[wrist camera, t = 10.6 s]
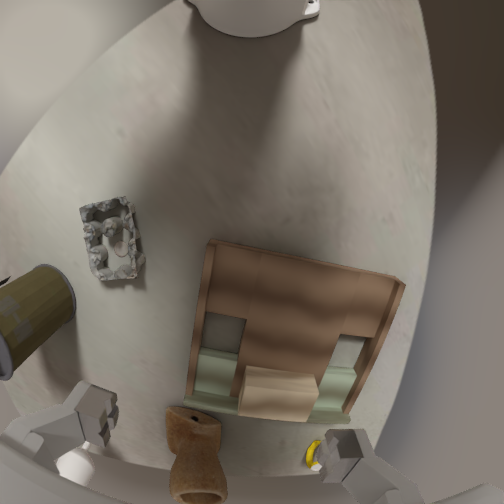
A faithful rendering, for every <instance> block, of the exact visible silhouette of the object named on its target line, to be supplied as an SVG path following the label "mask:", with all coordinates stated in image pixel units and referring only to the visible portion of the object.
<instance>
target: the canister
mask: <svg viewBox="0 0 504 504" xmlns="http://www.w3.org/2000/svg"><path fill="white" fill-rule="evenodd" d="M10 277H11V276H10ZM10 277H8V278H6V279H5V280H3V281H1V282H0V286H1V285H3V284H4V283H6V282H7V281H8V279H9V278H10ZM75 309H76V302H75V295H74V292H73V289H72V287H71V285H70V283H69V282H68V280H67V278H66V277H65V276H64V275H63V273H62V272H61V271H59V270H58V269H57V268H55V267H53V266H51V265H48V264H41V265H38V266H37V267H35V268H34V269H33V270H32V271H30V272H29V273H27V274H25V275H23V276H21V277H19V278H18V279H16V280H14V281H12V282H11V283H9V284H7V285H5V286H4V287H2V288H0V380H3V381H5V380H9V379H10V378H11V377H12V375H13V372H14V371H15V370H16V369H17V368H18V367H19V366H20V365H21V364H22V363H23V362H24V361H25V360H26V359H27V358H28V357H29V356H30V355H31V354H32V353H33V352H34V351H35V350H36V349H37V348H38V347H39V346H40V345H42V344H43V343H44V342H45V341H46V340H47V339H48V338H49V337H50V336H51V335H52V334H53V333H54V332H55V331H57V330H58V329H59V328H60V327H61V326H62V325H63V324H65V323H67V322H69V321H70V320H71V319H72V318H73V315H74V313H75Z"/></svg>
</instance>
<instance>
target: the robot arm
mask: <svg viewBox="0 0 504 504" xmlns="http://www.w3.org/2000/svg"><path fill="white" fill-rule="evenodd" d="M188 1H189V2H191V3H192V4H194V5H195V6H196V7H197V8H198V10H199V12H200V14H201V16H202V18H203V19H204V20H205V21H206V22H207V23H208V24H209V25H210V26H212V27H213V28H215V29H217V30H219V31H221V32H223V33H226V34H229V35H233V36H239V37H262V36H268V35H272V34H275V33H278V32H280V31H282V30H284V29H286V28H288V27H289V26H291V25H292V24H294V23H295V22H297V21H299V20H302V19H307V18H311V17H315V16H317V15H318V14H319V11H320V4H319V0H188ZM308 2H312V3H313V4H310V3H308ZM117 400H118V399H117V394H116V393H114V392H112V391H109V390H106V389H103V388H101V387H98V386H96V385H93V384H90V383H88V382H85V381H83V380H81V381H79V382H78V383H77V385H76V386H75V387H74V389H73V390H72V392H71V393H70V394H69V396H68V397H67V398H66V400H65V401H64V403H63V404H62V405H61V404H56V405H54V406H51V407H48V408H45V409H42V410H39V411H37V412H34V413H31V414H28V415H25V416H22V417H19V418H15V419H13V420H12V421H11V423H10V424H9V425H8V426H7V428H6V429H5V430H4V432H3V433H2V434H1V436H0V504H131V503H128V502H125V501H122V500H119V499H116V498H113V497H110V496H107V495H105V494H102V493H100V492H97V491H94V490H92V489H90V488H87V487H85V486H82V485H80V484H78V483H76V482H73V481H71V480H69V479H67V478H65V477H63V476H61V475H60V472H59V470H58V468H57V466H56V464H55V462H54V460H55V459H57V458H59V457H60V456H62V455H64V454H66V453H68V452H69V451H71V450H73V449H74V448H76V447H78V446H80V445H81V444H83V443H85V441H87V442H89V443H92V444H95V445H98V446H100V447H103V448H105V447H106V445H107V443H108V441H109V439H110V437H111V436H110V430H112V429H114V428H115V426H116V424H117V420H118V415H119V409H118V406H117V405H116V402H117ZM317 462H318V463H319V464H320V465H321V466H322V467H321V469H320V470H319V472H320V477H321V481H322V483H339V482H342V483H341V484H342V485H343V486H344V487H345V488H346V489H347V490H348V492H349V493H350V494H351V495H352V496H353V497H354V498H355V499H356V500H357V501H358V502H359V503H360V504H425V503H424V501H423V498H422V496H421V494H420V491H419V489H418V487H417V484H416V483H414V482H413V481H411V480H409V479H408V478H407V477H405V476H404V475H403V474H401V473H400V472H399V471H397V470H396V469H395V468H393V467H392V466H390V465H389V464H388V463H387V462H385V461H384V460H383V459H381V458H380V457H376V456H375V453H374V451H373V448H372V446H371V443H370V441H369V438H368V436H367V433H366V431H365V430H364V429H329V430H328V431H327V432H326V434H325V439H324V440H323V441H321V442H320V444H319V446H318V449H317ZM431 504H504V491H502V490H500V489H499V488H497V487H495V486H493V485H491V484H488V483H483V484H480V485H478V486H475V487H473V488H471V489H468V490H466V491H464V492H461V493H459V494H456V495H453V496H451V497H448V498H446V499H442V500H439V501H437V502H434V503H431Z"/></svg>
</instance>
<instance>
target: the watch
mask: <svg viewBox="0 0 504 504" xmlns="http://www.w3.org/2000/svg"><path fill="white" fill-rule="evenodd" d="M320 442H321V441H315V440H314V442H313V443H312V444H311V446H310V447H309V448H308V450H307V454H306V463H307V466H308V467H309V468H310V469H311V470H313V471H318V470H320V469H321V467H322V466H321V465H320V464H319V463H318V462H314V463H313V453H314V450H315V448H316V447H317V446H318V445H319V444H320Z"/></svg>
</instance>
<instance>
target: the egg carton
mask: <svg viewBox="0 0 504 504" xmlns="http://www.w3.org/2000/svg"><path fill="white" fill-rule="evenodd" d="M119 200H120V204H122V205H123V206H128V208H129V213H128V214H127V216H126V217H125V219H124V223H123V221H122V220H121V218H119V217H117V216H114V217H111V218H108V219H105V220H104V222H103V223H102V224H101V223H100V222H98V221H95V220H94V218H93V213H95V212H96V211H97V210H101V211H103V212H105V211H107V210H111V209H114V208H115V207H116V206H117V205H118V202H119ZM79 210H80V214H81V218H82V221H83V225H84V228H83V230H84V231H85V234H84V239H85V242H86V247H87V252H88V255H89V264H90V269H91V272H92V273H93V274H94V275H95V276H96V277H97V278H98V279H99V280H102V281H103V280H116V279H124V278H126V279H131V278H139V277H137V273H138V272H139V271H140V268H141V264H143V263H144V262H145V255H144V254H142V253H140V252H138V251H137V249H136V244H135V242H136V240H137V239H138V238H139V237H141V236H140V233H139V231H138V229H136V228H135V227H134V223H133V218H132V214H133V213H134V212H136V211H135V206H134V204H130V202H128V201H127V200H126V197H125V196H124V197H117V198H114V199H111V200H105V201H102V202H97V203H91V204H88V205H85V206H83V207H81V208H80V209H79ZM123 228H125V229H127V230H128V231H130V232H133V238H132V239H131V240H130V241H129V243H128V245H129V246H127V244H126V243H125V242H124V241H118V242H117V243H115V246H114V251H115V253H116V255H118V256H119V257H125V256H126V255H127V254H128V255H129V256H130V258H131V266H130V265H123V266H121V267H120V268H118V269H117V270H116V271H115V273H113V271H112V270H111V269H110V268H106V267H105V266H104V263H103V261H104V260H106V258H107V257H108V250H107V248H106V247H105V246H104V245H101V244H99V242H98V237H99V236H100V235H101V234H102V233H103V234H104V235H105V236H106V237H112V236H114V235H116V234H117V233H119V232H121V231H122V229H123Z"/></svg>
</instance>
